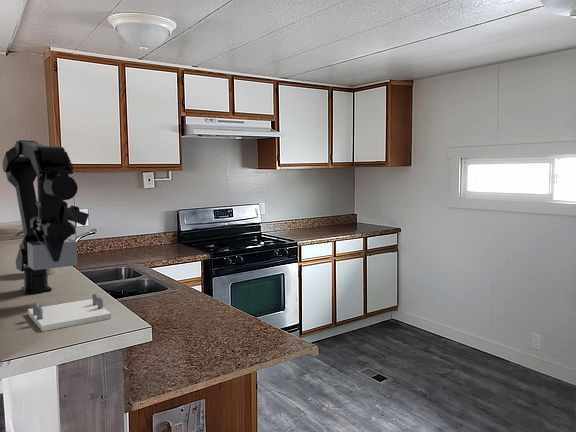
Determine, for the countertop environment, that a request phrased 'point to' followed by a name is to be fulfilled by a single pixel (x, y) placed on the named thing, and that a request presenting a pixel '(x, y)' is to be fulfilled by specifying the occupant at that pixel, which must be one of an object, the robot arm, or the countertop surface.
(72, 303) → the tray
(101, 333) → the countertop surface
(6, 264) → the countertop surface
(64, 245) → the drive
